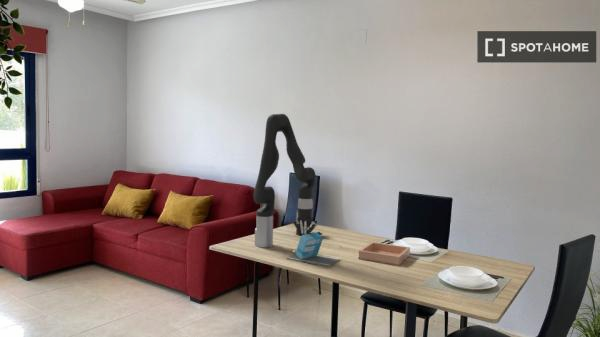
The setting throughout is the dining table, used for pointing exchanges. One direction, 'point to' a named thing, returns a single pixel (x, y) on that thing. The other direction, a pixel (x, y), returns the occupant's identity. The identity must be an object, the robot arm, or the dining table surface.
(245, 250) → the dining table surface
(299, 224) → the milk frother
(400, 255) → the planter saucer
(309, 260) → the mat
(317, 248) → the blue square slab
